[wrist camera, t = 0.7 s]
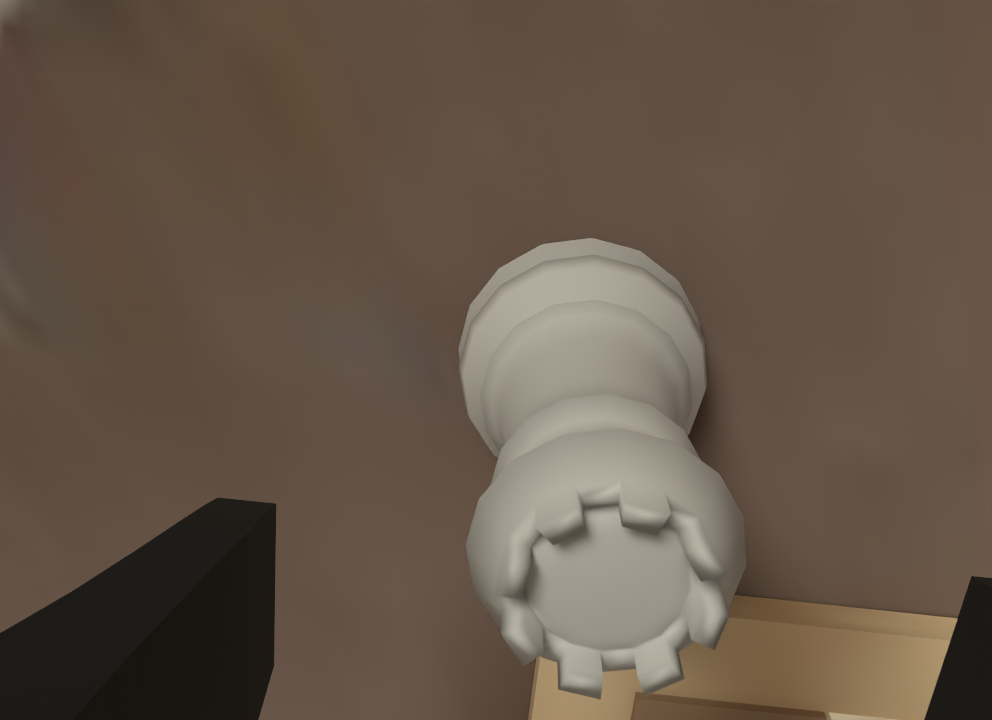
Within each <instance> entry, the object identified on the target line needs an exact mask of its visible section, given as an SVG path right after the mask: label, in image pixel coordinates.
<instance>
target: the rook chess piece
mask: <svg viewBox="0 0 992 720" xmlns="http://www.w3.org/2000/svg"><path fill="white" fill-rule="evenodd" d="M458 350H459V356H460V363H459V373H460V379H461V385H462V391H463V398H464V404H465V410H466V412H467V414H468V416H469V418H470V419H471V421H472V422H473V424H474V425H475V427H476V429H477V430H478V432H479V433H480V435H481V436H482V438H483V439H484V441H485V442H486V444H487V446H488V447H489V449H490V450H491V452H492V453H493V455H495V456H496V457H497V458H498V462H497V465H496V468H495V472H494V475H493V479H492V482H491V486H490V487H489V488H488V489H487V490H486V491H485V493H484V494H483V495H482V496H481V497H480V498H479V501H478V504H477V508H476V511H475V515H474V518H473V522H472V525H471V529H470V532H469V535H468V539H467V542H466V550H467V556H468V562H469V567H470V573H471V579H472V585H473V591H474V593H475V594H476V595H477V597H478V598H479V600H480V601H481V603H482V604H483V606H484V607H485V608H486V610H487V611H488V613H489V614H490V616H491V617H492V619H493V620H494V621H495V623H496V624H497V626H498V627H499V629H500V630H501V635H502V637H503V638H504V640H505V641H506V643H507V644H508V646H509V647H510V648H511V650H512V651H513V653H514V654H515V656H516V657H517V659H518V660H519V661H520V663H521V664H522V666H523V667H524V666H525V665H527V664H528V663H530V662H531V661H533V660H534V659H536V658H537V657H538V656H541V657H542V658H545V659H548V660H551V661H554V662H557V668H558V690H562V691H566V692H570V693H575V694H579V695H583V696H587V697H591V698H596V699H600V700H601V692H602V684H603V672H608V671H619V670H631V669H637V676H638V679H639V681H640V684H641V687H642V690H643V693H644V695H645V696H646V695H648V694H651V693H653V692H655V691H658V690H660V689H662V688H665V687H667V686H669V685H672V684H674V683H676V682H679V681H681V680H683V679H685V678H684V674H683V669H682V665H681V660H680V656H679V651H681V650H683V649H685V648H686V647H688V646H690V645H692V644H693V643H694V642H697V643H699V644H702V645H704V646H706V647H708V648H711V649H713V650H715V648H716V646H717V644H718V641H719V639H720V637H721V634H722V632H723V630H724V627H725V625H726V622H727V620H728V618H729V615H730V612H729V609H728V608H729V606H730V603H731V601H732V599H733V596H734V594H735V592H736V589H737V587H738V584H739V582H740V580H741V577H742V575H743V573H744V570H745V568H746V546H745V526H744V517H743V515H742V513H741V511H740V510H739V508H738V506H737V504H736V502H735V501H734V499H733V497H732V495H731V494H730V492H729V490H728V488H727V486H726V485H725V483H724V481H723V479H722V478H721V476H720V474H719V473H717V472H716V471H715V470H713V469H712V468H711V467H709V466H708V465H707V464H705V463H704V462H702V461H701V459H700V457H699V456H698V454H697V452H696V450H695V449H694V447H693V445H692V443H691V442H690V440H689V438H688V435H689V433H690V431H691V428H692V425H693V423H694V420H695V417H696V415H697V412H698V409H699V407H700V404H701V401H702V399H703V396H704V393H705V390H706V387H707V373H706V358H705V342H704V337H703V335H702V333H701V332H700V320H699V319H698V317H697V315H696V313H695V311H694V309H693V307H692V306H691V304H690V302H689V300H688V298H687V296H686V294H685V293H684V291H683V289H682V287H681V285H680V283H679V281H678V280H677V279H676V278H674V277H673V276H672V275H670V274H669V273H668V272H667V271H665V270H664V269H663V268H661V267H660V266H659V265H658V264H656V263H655V262H654V261H652V260H651V259H650V258H649V257H647V256H646V255H645V254H643V253H642V252H641V251H639V250H635V249H631V248H628V247H624V246H620V245H616V244H613V243H609V242H605V241H601V240H598V239H594V238H588V239H580V240H572V241H564V242H556V243H548V244H542V245H540V246H538V247H536V248H535V249H533V250H531V251H529V252H527V253H526V254H524V255H522V256H520V257H518V258H517V259H515V260H513V261H511V262H510V263H508V264H506V265H504V266H502V267H501V268H499V269H498V270H497V272H496V273H495V274H494V275H493V277H492V278H491V279H490V281H489V282H488V283H487V284H486V286H485V287H484V288H483V289H482V291H481V292H480V293H479V295H478V296H477V297H476V298H475V300H474V301H473V302H472V303H471V305H470V307H469V311H468V315H467V318H466V322H465V326H464V330H463V334H462V337H461V341H460V345H459V349H458Z"/></svg>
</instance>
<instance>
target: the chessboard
mask: <svg viewBox="0 0 992 720" xmlns="http://www.w3.org/2000/svg"><path fill="white" fill-rule="evenodd" d="M728 609H729V612H730V615H729V618H728V620H727V622H726V625H725V627H724V630H723V632H722V634H721V637H720V639H719V641H718V644H717V646H716V648H715V650H713V649H711V648H708V647H706V646H704V645H702V644H699V643H697V642H694V643H693V644H692V645H690V646H688V647H686V648H685V649H683V650H681V651H679V656H680V660H681V665H682V669H683V674H684V678H685V679H683V680H681V681H679V682H676V683H674V684H672V685H669V686H667V687H665V688H662V689H660V690H658V691H655V692H653V693H651V694H648V695H646V696H645V695H644V693H643V690H642V687H641V684H640V681H639V679H638V676H637V669H631V670H619V671H608V672H603V684H602V692H601V700H600V699H596V698H591V697H587V696H583V695H579V694H575V693H570V692H566V691H562V690H558V668H557V662H554V661H551V660H548V659H545V658H542V657H541V656H538V657H537V658H536V666H535V673H534V680H533V687H532V695H531V702H530V709H529V716H528V720H924V719H925V716H926V713H927V710H928V707H929V704H930V701H931V698H932V695H933V692H934V689H935V686H936V683H937V680H938V677H939V674H940V671H941V668H942V664H943V661H944V658H945V655H946V652H947V649H948V646H949V643H950V640H951V637H952V634H953V631H954V628H955V625H956V622H957V618H948V617H939V616H929V615H920V614H910V613H901V612H891V611H882V610H872V609H863V608H854V607H844V606H835V605H825V604H816V603H806V602H797V601H788V600H778V599H769V598H759V597H750V596H740V595H734V596H733V599H732V601H731V603H730V606H729V608H728Z"/></svg>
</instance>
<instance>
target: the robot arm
mask: <svg viewBox="0 0 992 720" xmlns="http://www.w3.org/2000/svg"><path fill="white" fill-rule="evenodd" d="M275 546H276V504H274V503H264V502H255V501H245V500H235V499H226V498H216V499H214V500H213V501H211V502H209V503H208V504H206V505H204V506H203V507H201V508H199V509H198V510H196V511H195V512H193V513H192V514H190V515H189V516H187V517H185V518H184V519H182V520H181V521H179V522H178V523H176V524H175V525H173V526H172V527H170V528H169V529H167V530H166V531H164V532H163V533H161V534H160V535H158V536H157V537H155V538H154V539H152V540H151V541H149V542H148V543H146V544H145V545H143V546H142V547H140V548H139V549H137V550H136V551H134V552H133V553H131V554H130V555H128V556H126V557H125V558H123V559H122V560H120V561H119V562H117V563H116V564H114V565H112V566H111V567H109V568H108V569H106V570H105V571H103V572H102V573H100V574H98V575H97V576H95V577H94V578H92V579H91V580H89V581H88V582H86V583H84V584H83V585H81V586H80V587H78V588H77V589H75V590H73V591H72V592H70V593H69V594H67V595H65V596H63V597H62V598H60V599H58V600H57V601H55V602H53V603H51V604H50V605H48V606H46V607H45V608H43V609H41V610H39V611H38V612H36V613H34V614H33V615H31V616H29V617H27V618H26V619H24V620H22V621H20V622H19V623H17V624H15V625H14V626H12V627H10V628H8V629H7V630H5V631H3V632H2V633H0V720H258V719H259V715H260V712H261V708H262V705H263V701H264V698H265V695H266V691H267V688H268V684H269V681H270V677H271V674H272V670H273V667H274V617H275ZM924 720H992V578H984V577H974V576H972V577H971V580H970V583H969V586H968V589H967V592H966V595H965V598H964V601H963V604H962V607H961V610H960V613H959V616H958V619H957V622H956V625H955V628H954V631H953V634H952V637H951V640H950V643H949V646H948V649H947V652H946V655H945V658H944V661H943V664H942V668H941V671H940V674H939V677H938V680H937V683H936V686H935V689H934V692H933V695H932V698H931V701H930V704H929V707H928V710H927V713H926V716H925V719H924Z"/></svg>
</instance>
